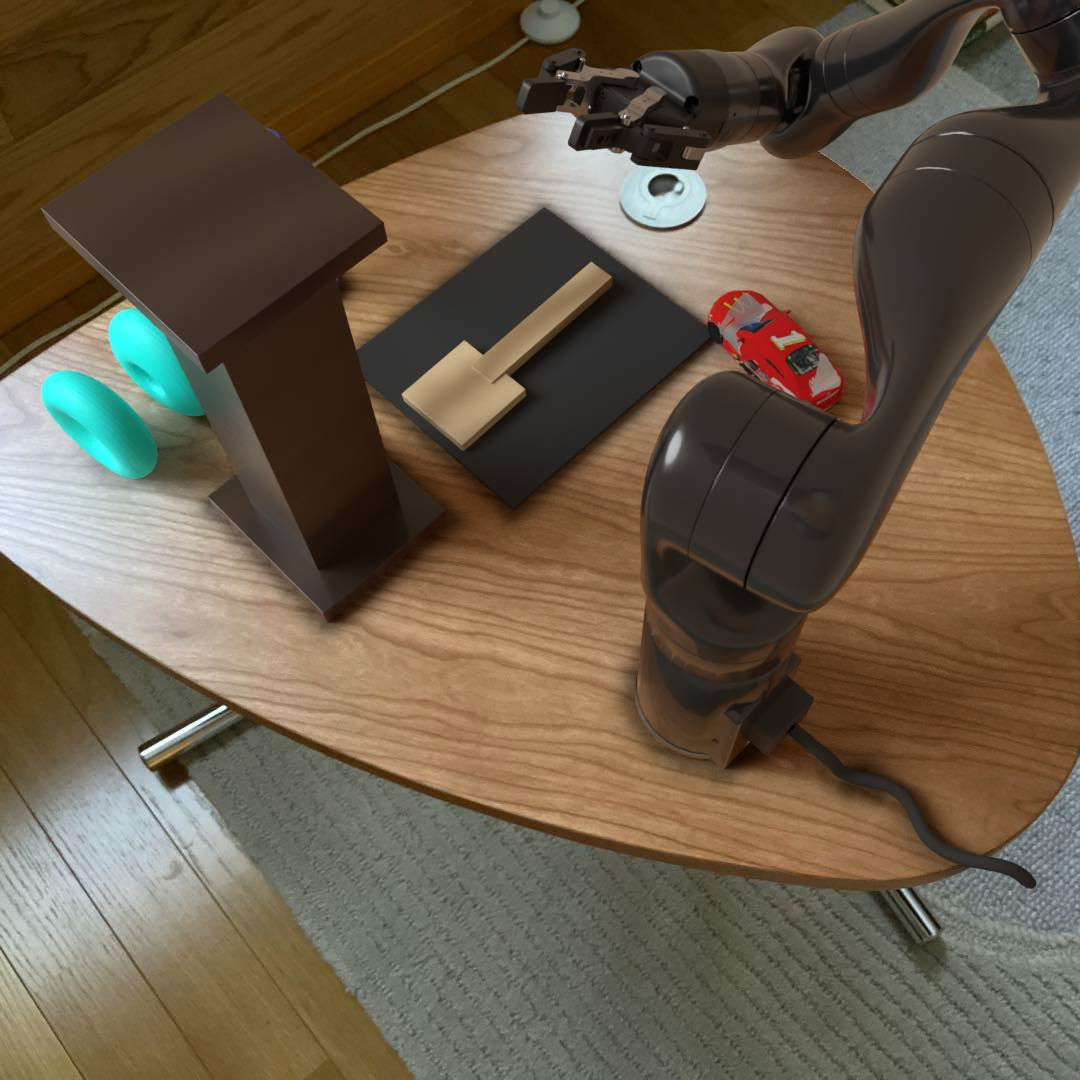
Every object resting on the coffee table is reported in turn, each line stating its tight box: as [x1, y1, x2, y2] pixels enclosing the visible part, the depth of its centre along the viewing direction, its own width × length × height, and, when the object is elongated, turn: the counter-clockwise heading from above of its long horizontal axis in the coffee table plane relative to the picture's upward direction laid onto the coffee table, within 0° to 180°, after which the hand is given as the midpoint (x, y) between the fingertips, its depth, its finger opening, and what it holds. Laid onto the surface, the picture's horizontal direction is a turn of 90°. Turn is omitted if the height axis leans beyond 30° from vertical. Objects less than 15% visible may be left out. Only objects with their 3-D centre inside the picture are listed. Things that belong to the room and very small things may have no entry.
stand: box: [40, 91, 449, 623], centre depth 75 cm, size 14×12×32 cm
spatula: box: [402, 262, 612, 451], centre depth 94 cm, size 7×20×1 cm, turn 135°
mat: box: [356, 206, 713, 511], centre depth 95 cm, size 20×23×1 cm
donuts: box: [40, 307, 206, 480], centre depth 89 cm, size 10×10×10 cm
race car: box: [706, 289, 845, 413], centre depth 92 cm, size 13×5×4 cm, turn 33°
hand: (549, 115), depth 77 cm, fingers open, 4 cm apart
